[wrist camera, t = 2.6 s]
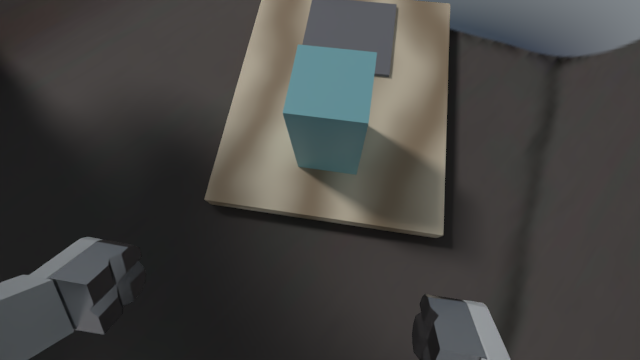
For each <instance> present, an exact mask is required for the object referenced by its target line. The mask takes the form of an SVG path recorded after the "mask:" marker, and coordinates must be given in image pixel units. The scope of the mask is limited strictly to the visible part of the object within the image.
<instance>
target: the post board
mask: <svg viewBox="0 0 640 360" xmlns="http://www.w3.org/2000/svg"><path fill="white" fill-rule="evenodd" d="M354 1H365V2H377V3H388V4H397V6H396V16H395V26H394V35H393V45H392V55H391V65H390V74H389V77H382V76H374V82H373V90H372V99H371V107H370V115H369V123H368V128H367V132H366V136H365V140H364V145H363V149H362V153H361V157H360V162H359V166H358V170H357V174H356V175H355V174H348V173H340V172H333V171H326V170H318V169H311V168H304V167H298V164H297V161H296V157H295V154H294V151H293V147H292V144H291V140H290V137H289V133H288V130H287V127H286V123H285V120H284V116H283V109H284V104H285V100H286V95H287V91H288V86H289V82H290V78H291V73H292V69H293V64H294V60H295V55H296V51H297V46H298V44H299V45H302V44H303V39H304V35H305V30H306V25H307V21H308V16H309V12H310V7H311V3H312V0H261V4H260V7H259V11H258V14H257V17H256V21H255V24H254V28H253V31H252V35H251V38H250V42H249V45H248V49H247V52H246V56H245V59H244V63H243V66H242V70H241V73H240V76H239V80H238V83H237V87H236V90H235V94H234V97H233V101H232V104H231V108H230V111H229V115H228V118H227V122H226V125H225V129H224V132H223V136H222V139H221V142H220V146H219V149H218V153H217V156H216V160H215V163H214V167H213V170H212V174H211V177H210V181H209V184H208V188H207V191H206V195H205V198H204V200H205V201H207V202H208V203H210V204H212V205H219V206H226V207H232V208H239V209H245V210H252V211H259V212H265V213H272V214H279V215H285V216H292V217H299V218H305V219H312V220H319V221H325V222H332V223H339V224H345V225H352V226H359V227H365V228H372V229H378V230H385V231H392V232H398V233H405V234H412V235H418V236H425V237H432V238H438V237H441V236H443V231H444V197H445V163H446V129H447V96H448V62H449V28H450V4H448V3H437V2H425V1H413V0H354Z"/></svg>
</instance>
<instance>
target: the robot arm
mask: <svg viewBox="0 0 640 360" xmlns="http://www.w3.org/2000/svg"><path fill="white" fill-rule="evenodd" d="M141 257H142V255H141V251H140V248H139V247H137V246H135V245H130V244H125V243H120V242H115V241H109V240H104V239H103V240H102V239H97V238H92V237H84V238H80V239H79V240H77V241H76V242H75V243H73V244H72V245H70V246H69V247H68V248H66V249H65V250H63V251H62V252H61V253H59V254H58V255H56V256H55V257H54V258H52V259H51V260H49V261H48V262H47V263H45V264H44V265H42V266H41V267H40V268H38V269H37V270H35V271H34V272H33V273H31V274H30V275H20V276H17V277H15V278H12V279H9V280H6V281H3V282H1V283H0V360H28V359H30V358H32V357H33V356H35V355H37V354H38V353H40V352H41V351H43V350H45V349H46V348H48V347H50V346H51V345H53V344H55V343H56V342H58V341H60V340H61V339H63V338H65V337H66V336H68V335H69V334H71V333H73V332H74V330H79V331H85V332H91V333H97V334H103V335H105V333H106V332H107V331H108V330H109V329H110V328H111V327H112V325H113V324H114V323H115V322H116V321H117V320H118V319H119V317H120V316H121V315H122V314H123V306H125V305H127V304H129V303H130V302H132V301H134V300H135V299H136V298H137V296H138V295H139V294H140V293H141V291H142V289H143V286H144V284H145V281H146V272H145V268H144V267H143V266H142V265H141V264H140V262H139V260H140V258H141ZM420 309H421V312H420V313H419V314H417V315H416V316H415V319H414V323H413V330H412V344H413V351H414V353H415V355H416V356H417V357H418V359H419V360H511V359H510V357H509V354H508V352H507V350H506V348H505V346H504V343H503V341H502V339H501V337H500V334H499V332H498V330H497V328H496V326H495V323H494V321H493V319H492V317H491V315H490V312H489V310H488V308H487V306H486V305H485V304H484V303H479V302H473V301H467V300H460V299H454V298H447V297H441V296H435V295H428V294H424V295H423V296H422V298H421V301H420Z"/></svg>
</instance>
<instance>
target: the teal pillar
mask: <svg viewBox="0 0 640 360" xmlns="http://www.w3.org/2000/svg"><path fill="white" fill-rule="evenodd" d="M376 57H377V52H368V51H358V50H348V49H339V48H329V47H319V46H309V45H299V44H298V46H297V51H296V55H295V60H294V64H293V69H292V73H291V78H290V82H289V86H288V91H287V95H286V100H285V104H284V109H283V116H284V120H285V123H286V127H287V130H288V133H289V137H290V140H291V144H292V147H293V151H294V154H295V157H296V161H297V164H298V167H304V168H311V169H318V170H326V171H333V172H340V173H348V174H355V175H356V174H357V170H358V166H359V162H360V157H361V153H362V149H363V145H364V140H365V136H366V132H367V128H368V123H369V115H370V107H371V99H372V90H373V82H374V74H375V66H376Z"/></svg>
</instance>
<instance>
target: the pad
mask: <svg viewBox="0 0 640 360" xmlns="http://www.w3.org/2000/svg"><path fill="white" fill-rule="evenodd" d="M396 6H397V4H388V3H377V2H365V1H354V0H312V3H311V7H310V12H309V16H308V21H307V25H306V30H305V35H304V39H303V44H302V45H309V46H319V47H329V48H339V49H348V50H358V51H368V52H377V57H376V66H375V74H374V76H382V77H389V74H390V65H391V55H392V45H393V35H394V26H395V16H396Z"/></svg>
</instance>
